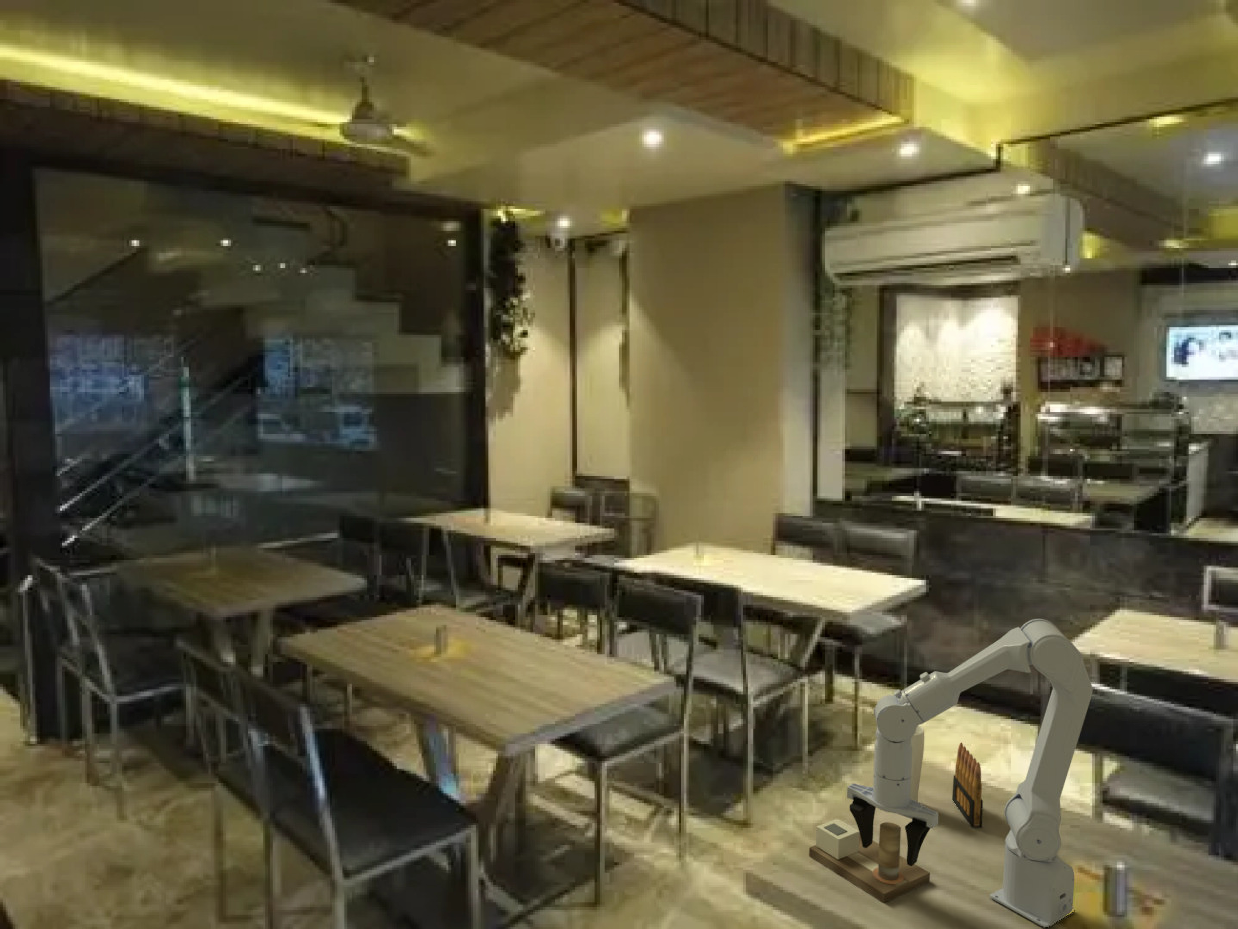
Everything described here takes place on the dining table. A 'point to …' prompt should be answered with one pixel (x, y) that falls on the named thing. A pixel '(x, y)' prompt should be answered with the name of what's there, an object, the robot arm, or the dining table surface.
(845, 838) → the block
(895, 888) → the board
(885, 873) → the brown upright cylinder
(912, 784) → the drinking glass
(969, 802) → the ammunition clip
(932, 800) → the dining table surface
